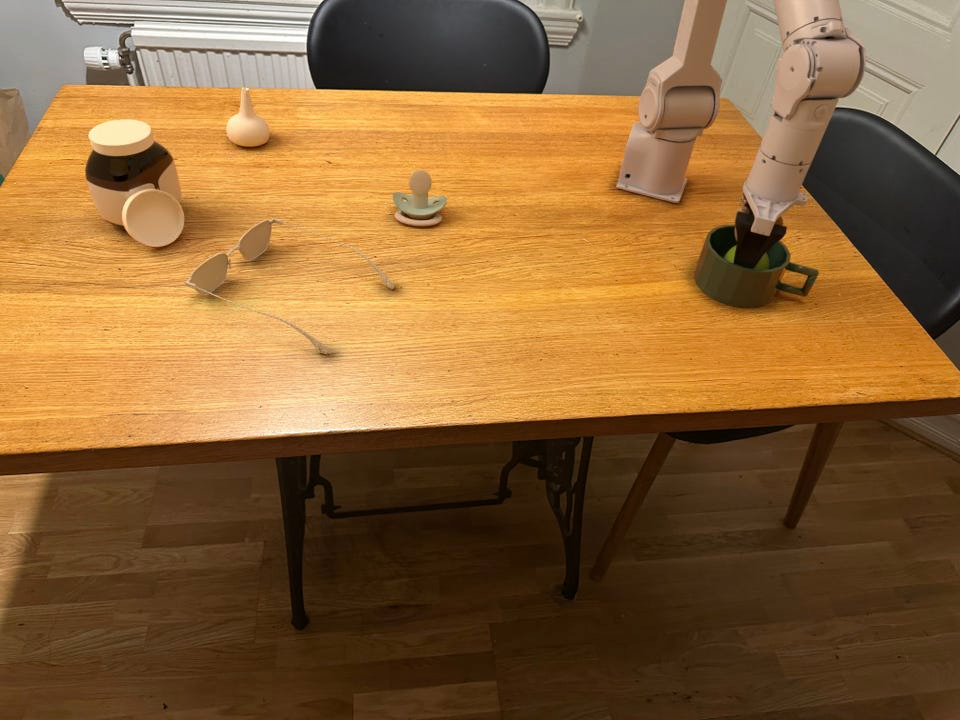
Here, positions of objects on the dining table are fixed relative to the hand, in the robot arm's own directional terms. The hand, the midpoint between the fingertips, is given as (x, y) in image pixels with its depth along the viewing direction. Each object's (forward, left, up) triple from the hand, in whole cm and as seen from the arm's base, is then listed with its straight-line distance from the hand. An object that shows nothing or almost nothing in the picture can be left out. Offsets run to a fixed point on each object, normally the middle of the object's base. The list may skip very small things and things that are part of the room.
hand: (744, 255), depth 86 cm
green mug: (+2, 0, -4) cm, 5 cm away
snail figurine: (0, -1, -4) cm, 4 cm away
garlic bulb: (-74, +2, -4) cm, 74 cm away
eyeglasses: (-47, -27, -4) cm, 54 cm away
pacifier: (-42, -5, -4) cm, 43 cm away
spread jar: (-71, -23, -4) cm, 75 cm away
